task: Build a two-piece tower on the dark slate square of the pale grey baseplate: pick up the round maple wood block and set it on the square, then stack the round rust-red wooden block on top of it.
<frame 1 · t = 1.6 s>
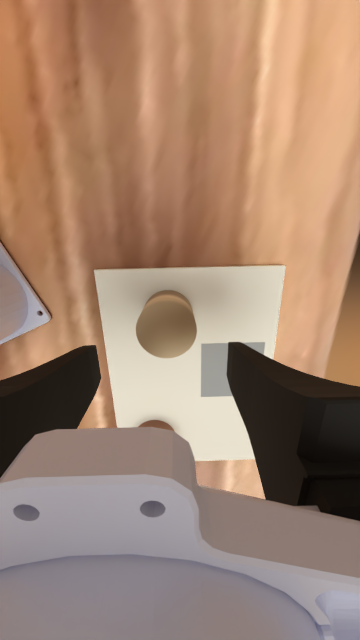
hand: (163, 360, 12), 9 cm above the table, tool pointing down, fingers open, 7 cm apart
baseplate: (190, 375, 23), on the table
maple drum: (168, 314, 20), point 1 cm above the table, touching baseplate
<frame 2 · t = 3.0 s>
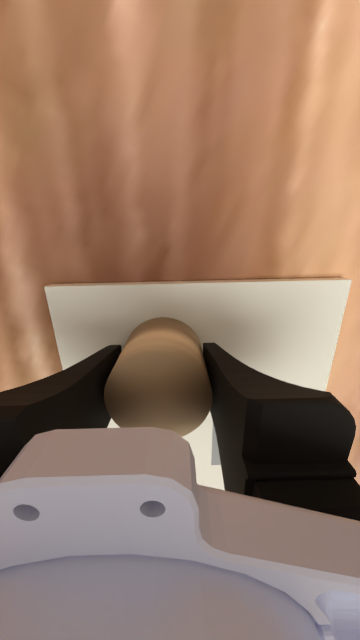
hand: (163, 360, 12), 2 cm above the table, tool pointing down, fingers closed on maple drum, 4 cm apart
baseplate: (196, 434, 16), on the table
maple drum: (163, 353, 13), point 1 cm above the table, touching baseplate, gripper
when the fingers open (3 cm above the table, at t = 7.0 s): maple drum drops 1 cm, resting on baseplate.
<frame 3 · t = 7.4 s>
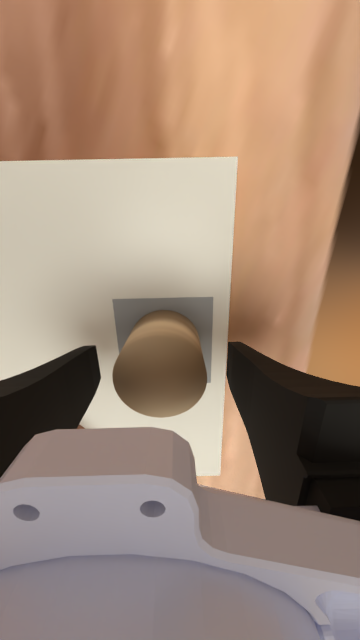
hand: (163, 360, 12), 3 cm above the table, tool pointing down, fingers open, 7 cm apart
baseplate: (108, 353, 15), on the table
maple drum: (164, 343, 14), point 1 cm above the table, touching baseplate
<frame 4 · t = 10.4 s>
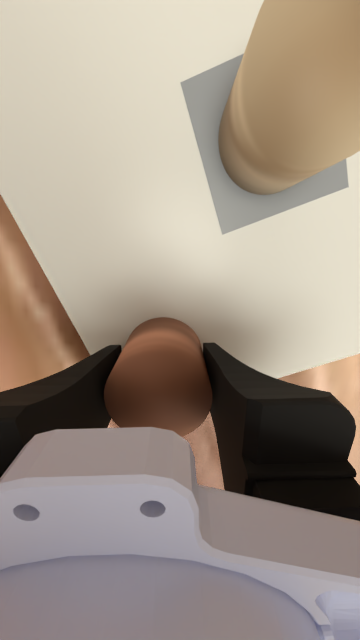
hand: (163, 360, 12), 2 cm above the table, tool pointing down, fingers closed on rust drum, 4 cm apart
rust drum: (163, 353, 13), point 1 cm above the table, touching baseplate, gripper
baseplate: (188, 201, 11), on the table
maple drum: (269, 136, 9), point 1 cm above the table, touching baseplate
when the fingers open (6 cm above the table, at t = 15.3 s): rust drum stays where it is, resting on maple drum.
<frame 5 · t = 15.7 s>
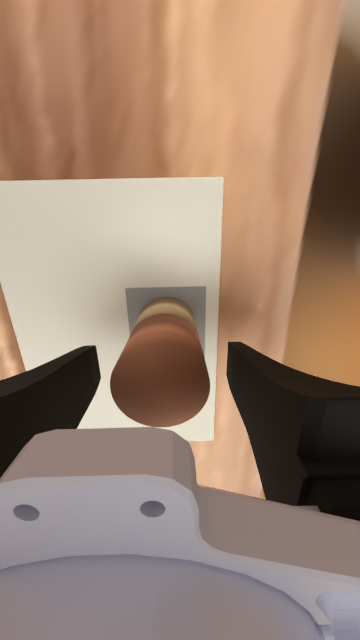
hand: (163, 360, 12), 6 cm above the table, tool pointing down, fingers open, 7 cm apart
rust drum: (164, 347, 13), point 5 cm above the table, touching maple drum
baseplate: (120, 334, 18), on the table
maple drum: (167, 324, 17), point 1 cm above the table, touching baseplate, rust drum
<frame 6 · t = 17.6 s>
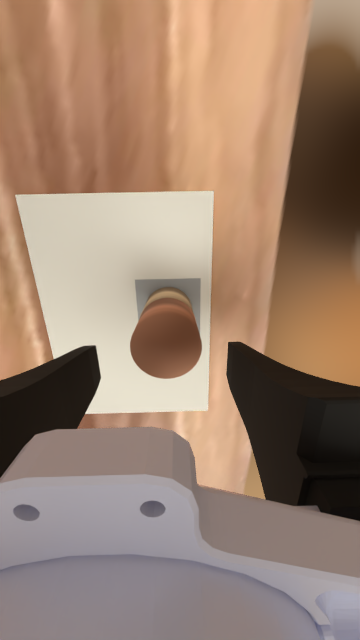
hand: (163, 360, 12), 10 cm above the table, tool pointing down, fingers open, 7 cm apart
rust drum: (167, 325, 17), point 5 cm above the table, touching maple drum
baseplate: (129, 318, 22), on the table
maple drum: (168, 309, 21), point 1 cm above the table, touching baseplate, rust drum
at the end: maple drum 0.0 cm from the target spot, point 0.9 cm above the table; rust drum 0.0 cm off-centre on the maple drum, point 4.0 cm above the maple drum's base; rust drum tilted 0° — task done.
